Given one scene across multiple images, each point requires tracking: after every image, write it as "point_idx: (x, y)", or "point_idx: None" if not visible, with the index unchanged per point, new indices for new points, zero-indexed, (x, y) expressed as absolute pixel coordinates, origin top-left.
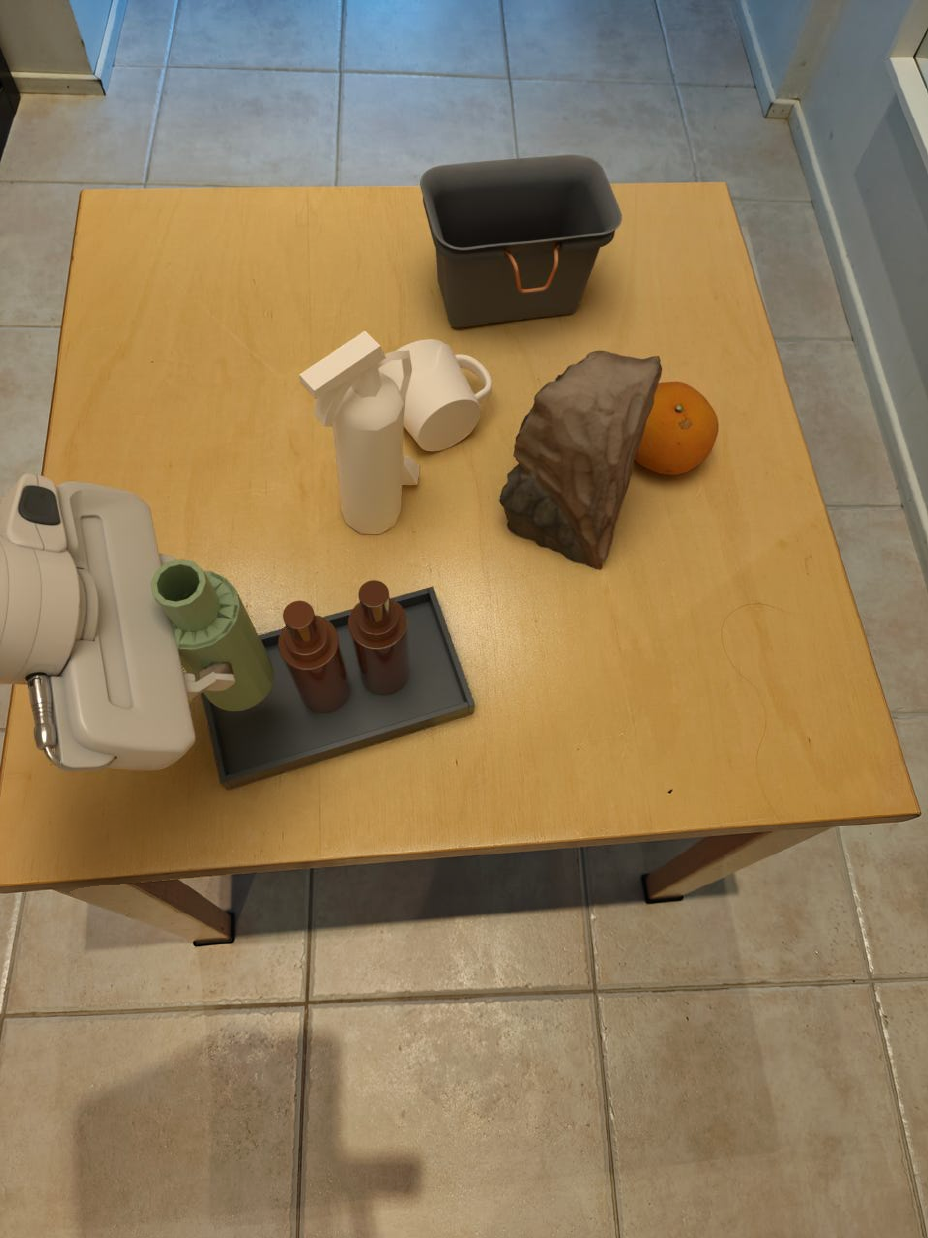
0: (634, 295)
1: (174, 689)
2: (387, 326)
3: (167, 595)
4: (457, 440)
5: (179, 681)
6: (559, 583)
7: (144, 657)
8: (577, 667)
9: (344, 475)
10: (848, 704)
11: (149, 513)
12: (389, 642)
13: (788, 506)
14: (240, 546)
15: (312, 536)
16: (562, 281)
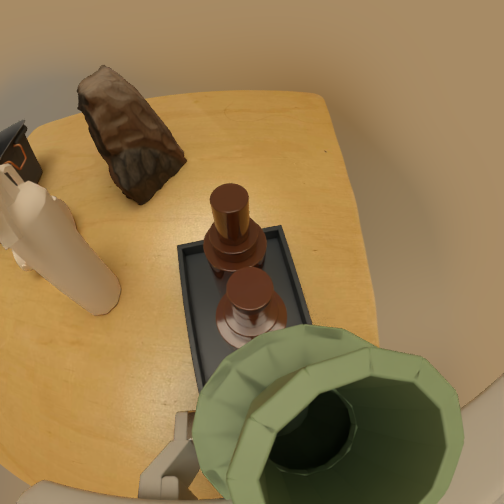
0: (50, 149)
1: (489, 411)
2: (4, 266)
3: (315, 498)
4: (75, 228)
5: (470, 413)
6: (190, 180)
7: (471, 482)
8: (250, 176)
9: (70, 280)
10: (279, 95)
11: (55, 486)
12: (259, 232)
13: (178, 99)
14: (111, 400)
15: (111, 342)
16: (27, 161)
